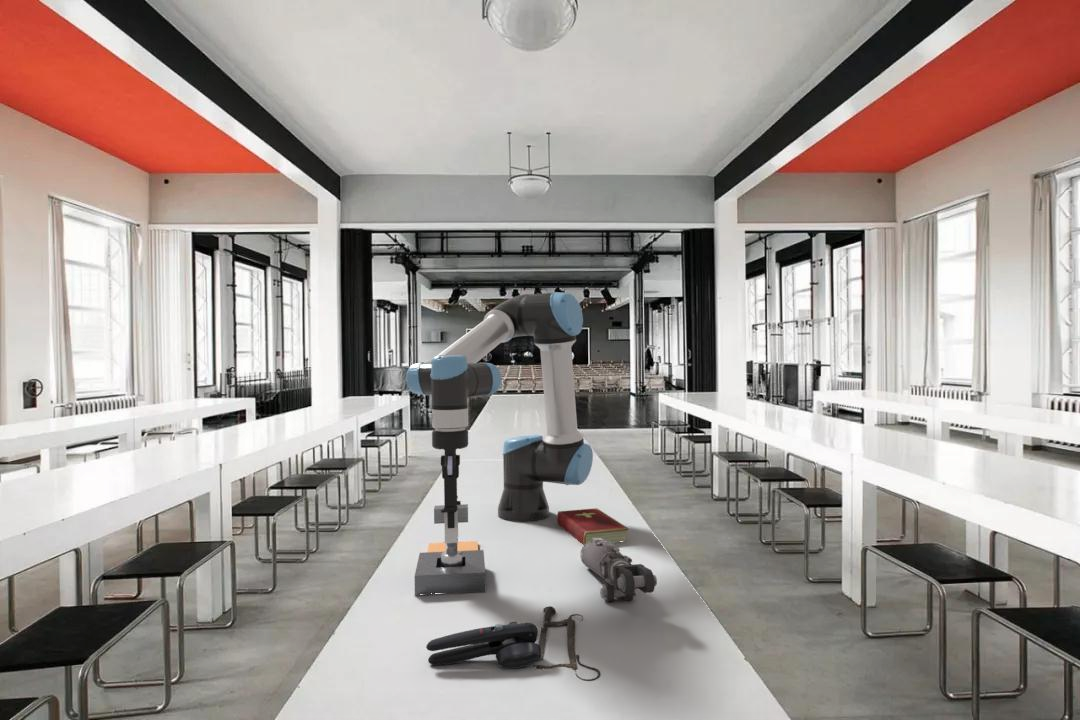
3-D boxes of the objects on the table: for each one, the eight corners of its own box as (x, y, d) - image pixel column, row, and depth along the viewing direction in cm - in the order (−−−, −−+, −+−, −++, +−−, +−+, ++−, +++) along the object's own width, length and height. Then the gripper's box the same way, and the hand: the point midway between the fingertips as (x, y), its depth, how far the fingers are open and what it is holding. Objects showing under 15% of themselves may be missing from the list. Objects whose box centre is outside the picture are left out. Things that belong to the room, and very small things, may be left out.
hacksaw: (542, 611, 115) (542, 603, 115) (598, 613, 114) (598, 605, 114) (530, 686, 91) (530, 676, 91) (600, 689, 90) (600, 680, 90)
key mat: (477, 544, 154) (477, 541, 154) (478, 560, 142) (478, 556, 142) (429, 546, 153) (429, 543, 153) (426, 562, 141) (425, 559, 141)
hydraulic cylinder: (624, 621, 105) (620, 560, 107) (574, 578, 141) (572, 533, 142) (664, 617, 106) (660, 557, 108) (605, 576, 142) (603, 531, 144)
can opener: (538, 647, 100) (538, 613, 100) (542, 669, 94) (542, 632, 93) (428, 652, 99) (428, 618, 99) (424, 676, 92) (424, 638, 92)
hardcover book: (584, 548, 152) (584, 531, 152) (557, 525, 172) (557, 510, 172) (628, 543, 155) (628, 527, 155) (596, 521, 175) (596, 507, 175)
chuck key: (468, 563, 133) (467, 503, 132) (468, 570, 128) (467, 508, 128) (435, 565, 132) (434, 504, 131) (434, 572, 127) (433, 510, 127)
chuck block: (483, 567, 138) (483, 549, 137) (485, 592, 124) (485, 572, 124) (419, 570, 136) (419, 552, 136) (414, 595, 122) (414, 575, 122)
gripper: (433, 424, 137) (435, 529, 137) (429, 434, 121) (431, 553, 121) (467, 423, 138) (469, 527, 138) (468, 433, 122) (469, 551, 122)
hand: (451, 539), depth 130 cm, fingers closed on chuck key, 3 cm apart
